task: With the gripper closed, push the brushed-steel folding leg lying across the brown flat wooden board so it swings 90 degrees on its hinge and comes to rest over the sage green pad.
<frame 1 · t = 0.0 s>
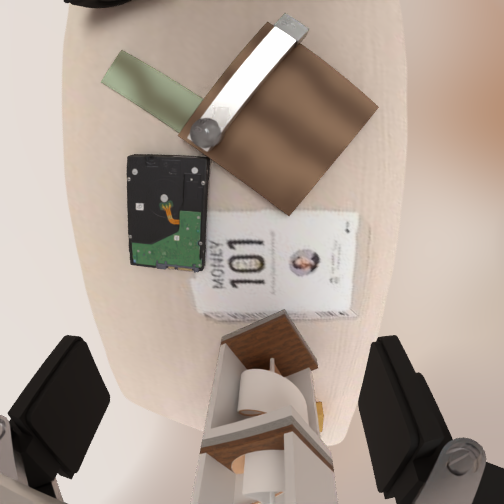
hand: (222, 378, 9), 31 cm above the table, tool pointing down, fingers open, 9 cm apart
disk drive: (170, 209, 40), on the table
brown flat wooden board: (278, 117, 35), on the table
folding leg: (247, 81, 29), point 4 cm above the table, hinge at 0.0°
gray dispenser tower: (270, 348, 48), on the table
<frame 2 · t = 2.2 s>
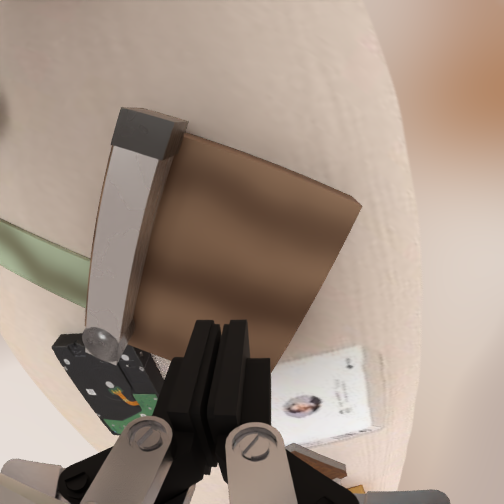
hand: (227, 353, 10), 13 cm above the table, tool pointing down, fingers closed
disk drive: (127, 381, 30), on the table
brown flat wooden board: (203, 261, 23), on the table
rubber stamp: (336, 494, 42), on the table
folding leg: (121, 252, 18), point 5 cm above the table, hinge at 0.0°
gray dispenser tower: (291, 467, 36), on the table
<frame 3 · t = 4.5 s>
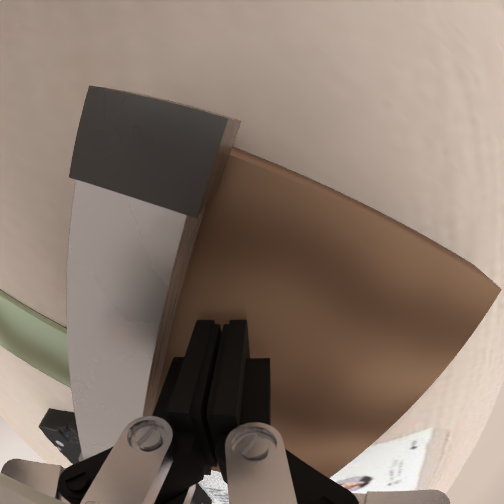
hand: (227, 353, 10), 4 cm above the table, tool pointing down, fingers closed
disk drive: (136, 459, 22), on the table
brown flat wooden board: (257, 354, 15), on the table
folding leg: (120, 366, 10), point 5 cm above the table, hinge at 3.0°, touching gripper
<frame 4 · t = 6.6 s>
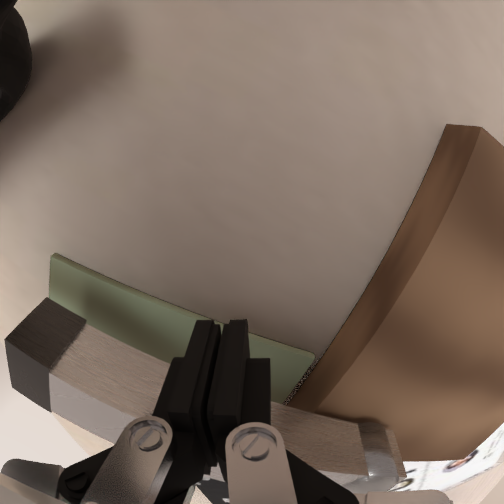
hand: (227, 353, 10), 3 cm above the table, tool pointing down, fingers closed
controller: (16, 81, 10), on the table
disk drive: (275, 475, 21), on the table
brown flat wooden board: (467, 339, 14), on the table
folding leg: (221, 434, 11), point 5 cm above the table, hinge at 86.4°, touching gripper
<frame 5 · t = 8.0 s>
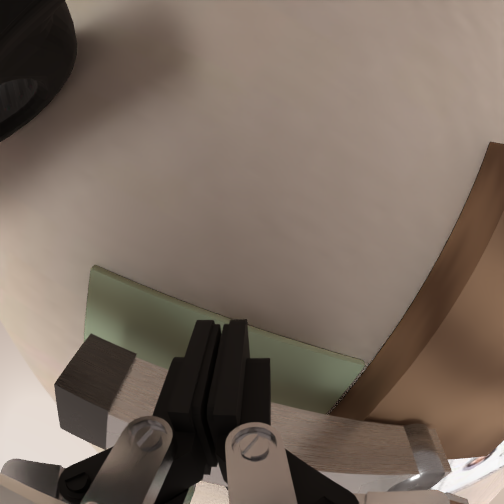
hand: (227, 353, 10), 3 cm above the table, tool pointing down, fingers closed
controller: (48, 77, 10), on the table
brown flat wooden board: (497, 341, 14), on the table
folding leg: (281, 452, 11), point 4 cm above the table, hinge at 90.2°, touching gripper
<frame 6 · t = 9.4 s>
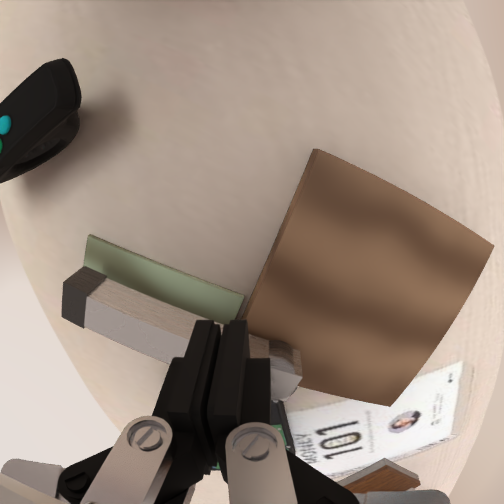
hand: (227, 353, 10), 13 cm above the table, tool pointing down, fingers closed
controller: (64, 130, 21), on the table
disk drive: (238, 414, 30), on the table
brown flat wooden board: (361, 294, 24), on the table
folding leg: (179, 337, 21), point 4 cm above the table, hinge at 90.2°
gray dispenser tower: (371, 482, 34), on the table
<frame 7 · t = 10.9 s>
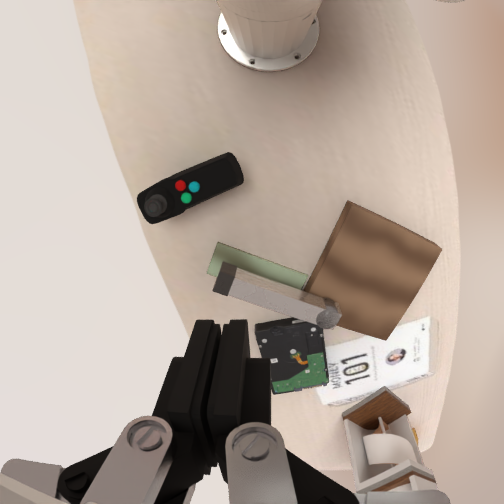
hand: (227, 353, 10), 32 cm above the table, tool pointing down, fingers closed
controller: (200, 178, 40), on the table
disk drive: (294, 350, 51), on the table
brown flat wooden board: (368, 273, 44), on the table
folding leg: (279, 297, 41), point 5 cm above the table, hinge at 90.2°
gray dispenser tower: (376, 409, 56), on the table
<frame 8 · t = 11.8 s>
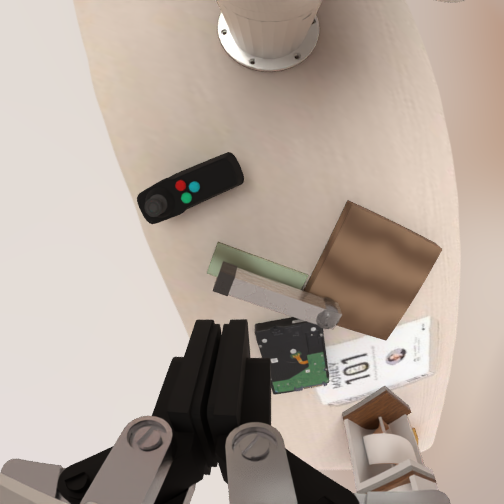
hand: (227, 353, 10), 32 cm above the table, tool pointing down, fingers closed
controller: (201, 178, 40), on the table
disk drive: (294, 350, 51), on the table
brown flat wooden board: (368, 273, 44), on the table
folding leg: (279, 297, 41), point 4 cm above the table, hinge at 90.2°
gray dispenser tower: (376, 409, 56), on the table
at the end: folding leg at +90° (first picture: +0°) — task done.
